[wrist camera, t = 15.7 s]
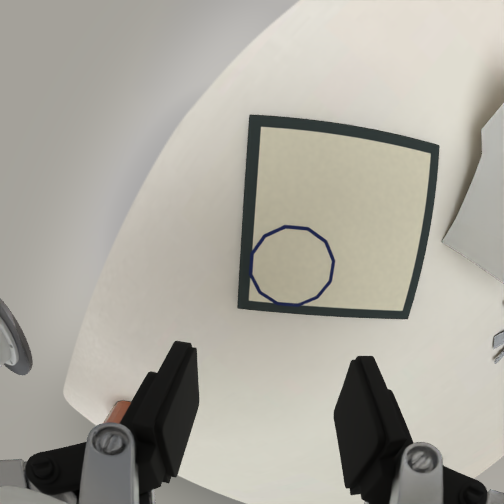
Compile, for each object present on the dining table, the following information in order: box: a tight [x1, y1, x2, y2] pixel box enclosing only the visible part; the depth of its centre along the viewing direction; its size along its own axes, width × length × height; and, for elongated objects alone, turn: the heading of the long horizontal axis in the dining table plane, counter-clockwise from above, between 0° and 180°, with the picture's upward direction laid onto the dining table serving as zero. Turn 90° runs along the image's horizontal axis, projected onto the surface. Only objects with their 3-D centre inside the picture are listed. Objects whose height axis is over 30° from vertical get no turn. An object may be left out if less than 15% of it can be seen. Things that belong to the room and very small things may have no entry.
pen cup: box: [104, 401, 131, 423], centre depth 30 cm, size 6×6×8 cm
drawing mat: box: [238, 115, 439, 319], centre depth 23 cm, size 17×17×1 cm
